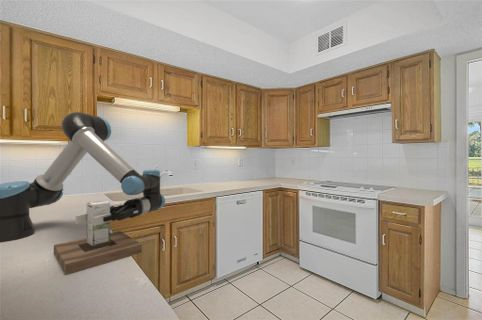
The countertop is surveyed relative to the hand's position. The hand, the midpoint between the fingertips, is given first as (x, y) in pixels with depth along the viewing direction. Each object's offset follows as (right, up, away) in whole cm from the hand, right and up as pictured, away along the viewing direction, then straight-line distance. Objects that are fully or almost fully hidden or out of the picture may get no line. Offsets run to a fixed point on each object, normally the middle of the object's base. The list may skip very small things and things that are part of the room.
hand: (84, 220), depth 78 cm
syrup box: (+2, -9, +5) cm, 10 cm away
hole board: (+1, -13, +5) cm, 14 cm away
